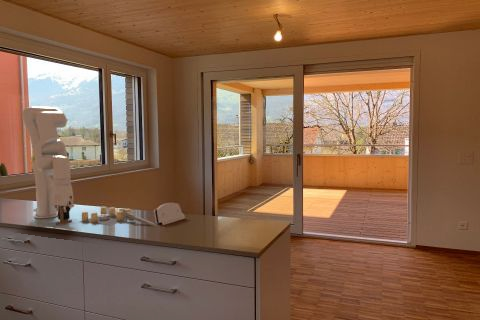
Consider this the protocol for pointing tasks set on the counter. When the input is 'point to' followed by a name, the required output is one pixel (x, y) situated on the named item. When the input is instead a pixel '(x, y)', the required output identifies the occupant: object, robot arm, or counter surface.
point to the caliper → (135, 218)
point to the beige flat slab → (168, 213)
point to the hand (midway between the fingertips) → (63, 218)
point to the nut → (103, 217)
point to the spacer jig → (114, 216)
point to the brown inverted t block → (62, 217)
